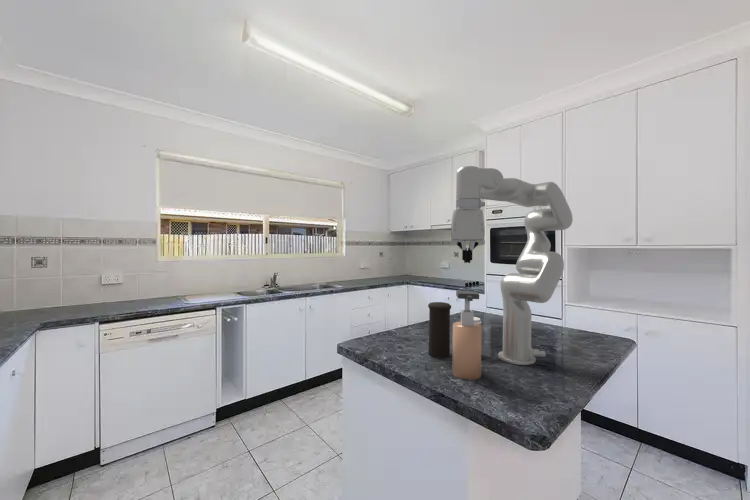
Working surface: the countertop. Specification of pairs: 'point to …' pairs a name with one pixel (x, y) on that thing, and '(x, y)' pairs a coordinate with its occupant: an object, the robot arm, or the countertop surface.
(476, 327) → the pump dispenser
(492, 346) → the countertop surface
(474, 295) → the pump head
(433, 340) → the container
